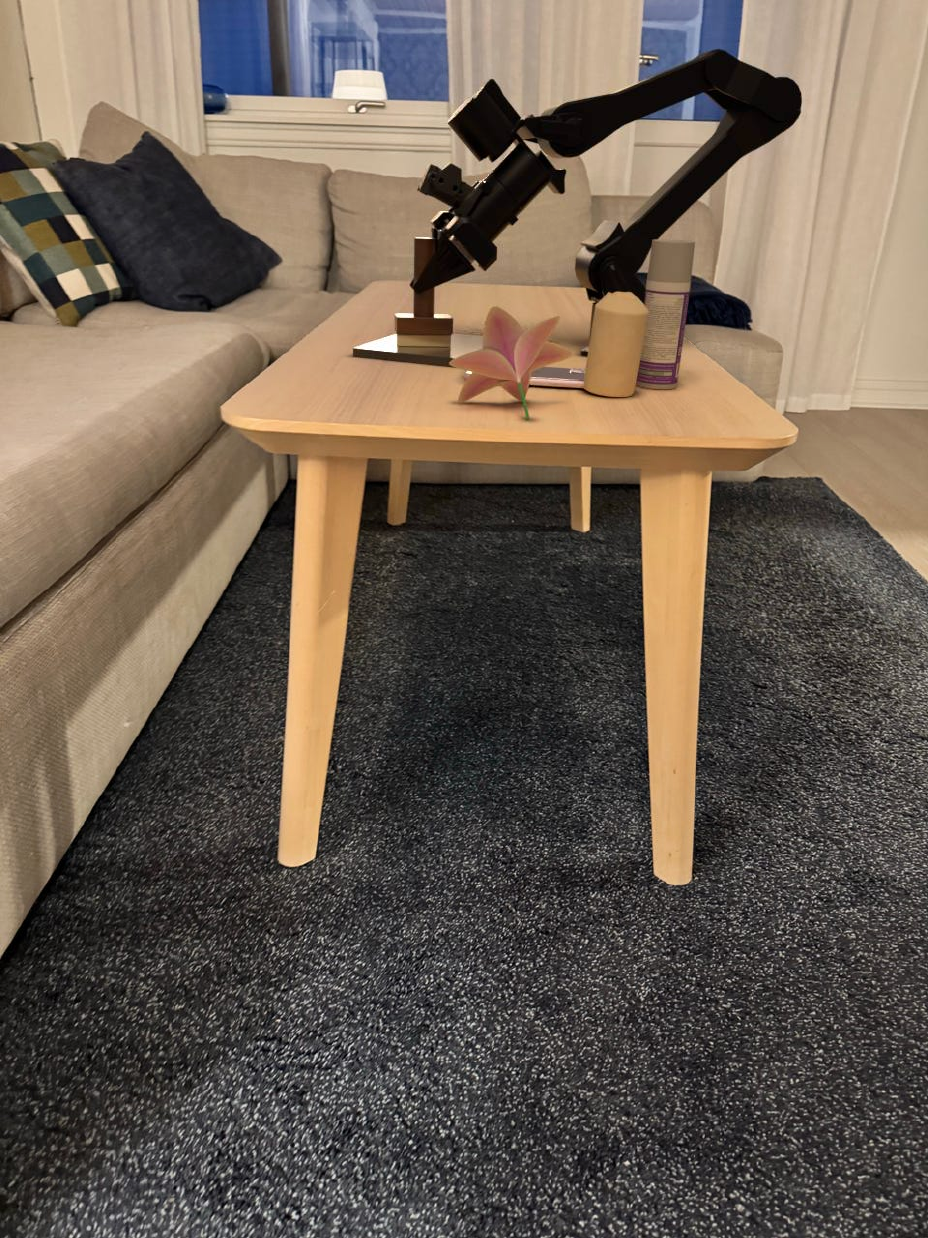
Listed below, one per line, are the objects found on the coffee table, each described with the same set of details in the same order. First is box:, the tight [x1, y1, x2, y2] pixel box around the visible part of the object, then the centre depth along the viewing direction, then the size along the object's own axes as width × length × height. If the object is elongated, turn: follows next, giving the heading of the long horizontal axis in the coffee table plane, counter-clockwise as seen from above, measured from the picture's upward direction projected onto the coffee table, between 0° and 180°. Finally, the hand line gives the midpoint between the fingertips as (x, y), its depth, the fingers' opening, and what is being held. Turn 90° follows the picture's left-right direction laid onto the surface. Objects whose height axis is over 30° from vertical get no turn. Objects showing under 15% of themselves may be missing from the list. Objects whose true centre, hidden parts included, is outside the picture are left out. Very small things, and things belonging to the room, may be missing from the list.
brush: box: [394, 236, 454, 347], centre depth 112 cm, size 4×7×12 cm, turn 99°
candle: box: [583, 292, 649, 398], centre depth 95 cm, size 6×6×10 cm
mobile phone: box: [463, 366, 586, 389], centre depth 101 cm, size 8×1×15 cm
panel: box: [352, 332, 483, 368], centre depth 117 cm, size 18×15×1 cm
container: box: [635, 238, 696, 390], centre depth 99 cm, size 5×5×15 cm
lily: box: [449, 306, 574, 420], centre depth 86 cm, size 12×12×10 cm
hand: (413, 289), depth 112 cm, fingers closed on brush, 2 cm apart
